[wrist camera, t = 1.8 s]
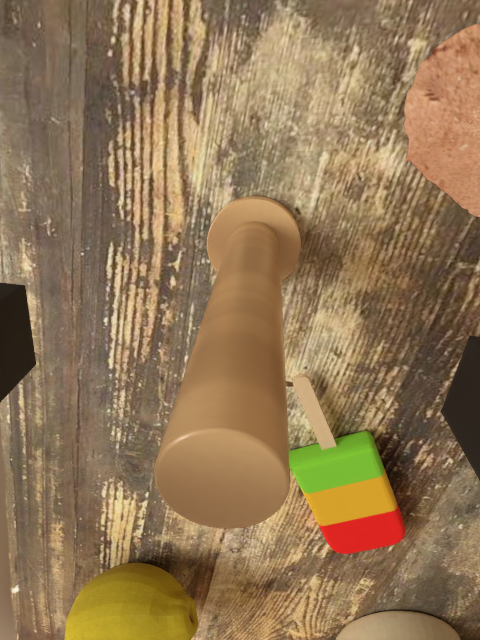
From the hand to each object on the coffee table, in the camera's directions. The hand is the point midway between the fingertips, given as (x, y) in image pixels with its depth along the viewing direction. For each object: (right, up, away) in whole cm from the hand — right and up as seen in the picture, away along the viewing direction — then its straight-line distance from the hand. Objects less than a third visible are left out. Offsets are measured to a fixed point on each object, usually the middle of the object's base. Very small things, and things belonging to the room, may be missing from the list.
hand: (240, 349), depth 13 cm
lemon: (-8, -20, +23) cm, 31 cm away
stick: (+1, +5, +9) cm, 11 cm away
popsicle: (+6, -8, +16) cm, 19 cm away
